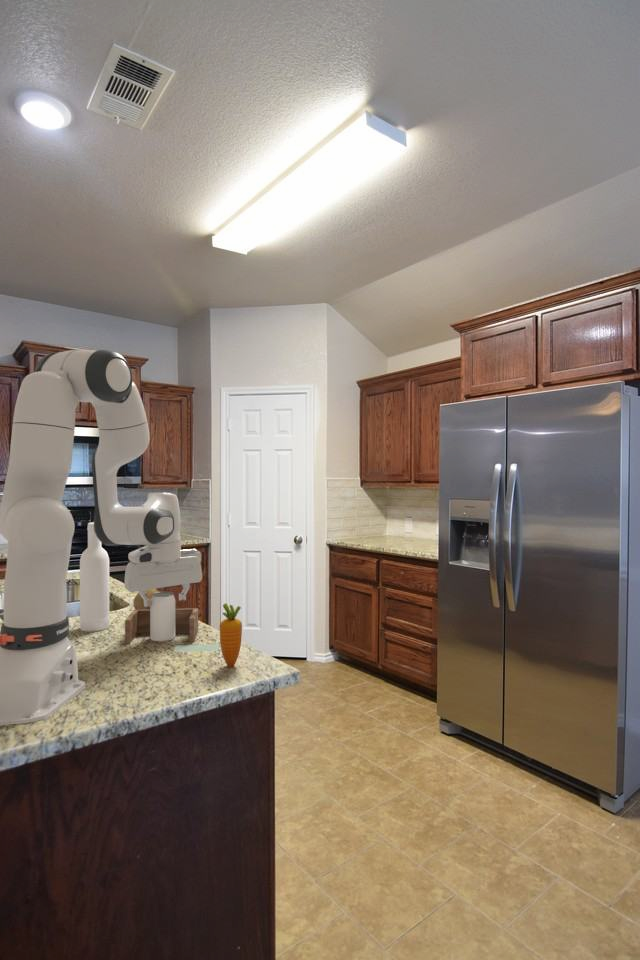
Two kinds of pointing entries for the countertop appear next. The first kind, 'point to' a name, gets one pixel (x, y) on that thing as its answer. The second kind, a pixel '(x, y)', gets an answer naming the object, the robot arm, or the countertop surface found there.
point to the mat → (196, 648)
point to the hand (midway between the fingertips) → (165, 603)
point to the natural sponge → (140, 601)
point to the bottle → (94, 585)
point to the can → (162, 616)
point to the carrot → (230, 635)
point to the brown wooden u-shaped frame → (141, 623)
